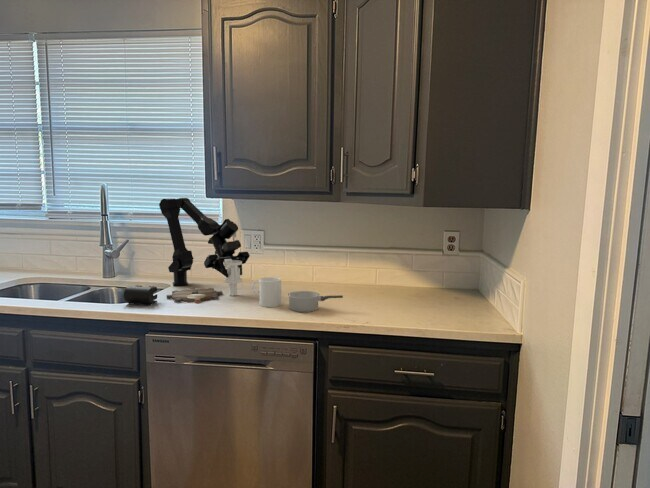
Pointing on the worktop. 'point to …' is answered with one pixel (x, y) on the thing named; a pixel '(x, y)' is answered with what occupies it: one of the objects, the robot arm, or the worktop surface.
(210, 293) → the sprocket plate
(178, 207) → the robot arm
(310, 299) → the saucepan
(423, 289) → the worktop surface
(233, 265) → the light grey tall piece
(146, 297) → the end cap
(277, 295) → the mug
